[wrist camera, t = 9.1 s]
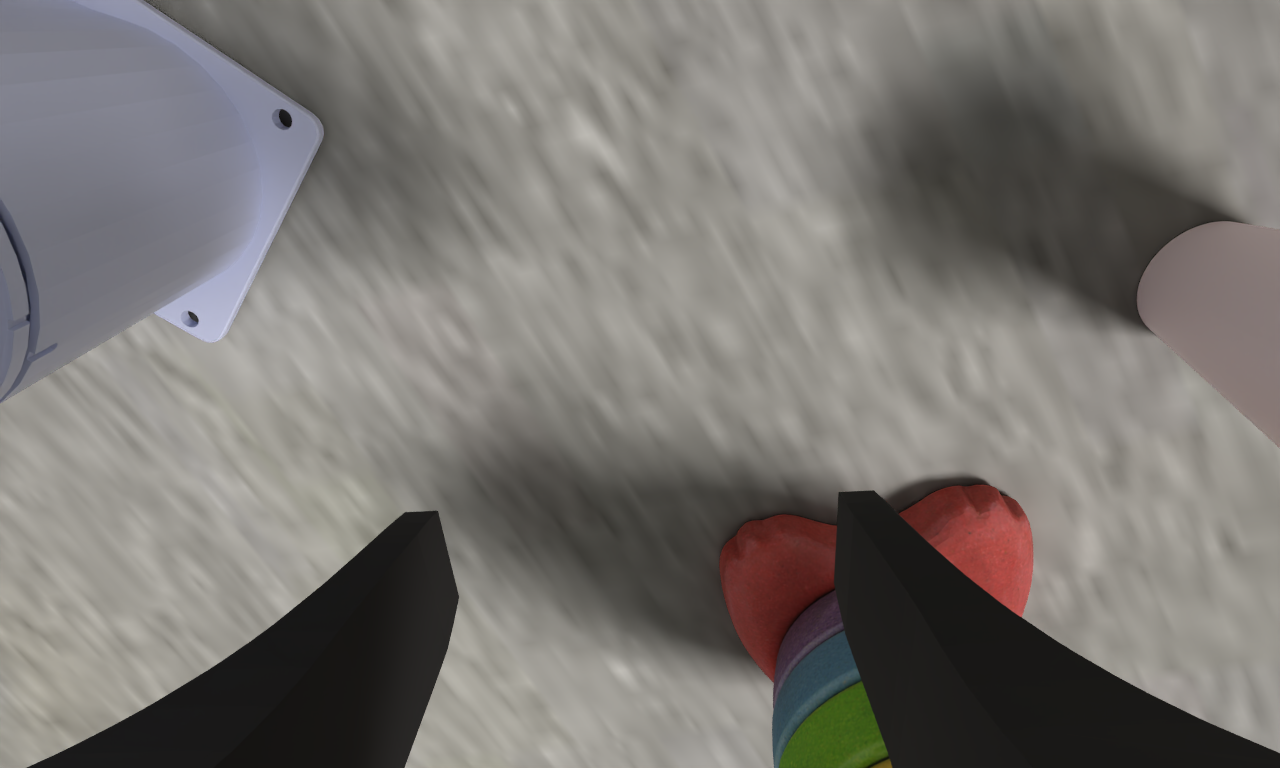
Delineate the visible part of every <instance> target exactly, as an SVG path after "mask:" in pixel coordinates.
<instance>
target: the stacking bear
mask: <svg viewBox="0 0 1280 768" xmlns="http://www.w3.org/2000/svg"><path fill="white" fill-rule="evenodd" d="M899 515H900V516H901V517H902V518H903V519H904V520H905V521H906V522H907V523H908V524H909V525H911V526H912V527H913V528H914V529H915V530H916V531H917V532H918V533H919V534H920V535H921V536H922V537H923V538H924V539H925V540H926V541H928V542H929V543H930V544H931V545H932V546H933V547H934V548H935V549H936V550H937V551H939V552H940V553H941V554H942V555H943V556H944V557H945V558H946V559H948V560H949V561H950V562H951V563H952V564H953V565H954V566H956V567H957V568H958V569H959V570H960V571H961V572H963V573H964V574H965V575H966V576H967V577H969V578H970V579H971V580H972V581H974V582H975V583H976V584H977V585H979V586H980V587H981V588H983V589H984V590H985V591H986V592H988V593H989V594H990V595H991V596H993V597H994V598H995V599H997V600H998V601H999V602H1000V603H1002V604H1003V605H1005V606H1006V607H1007V608H1009V609H1010V610H1011V611H1013V612H1014V613H1016V614H1017V615H1018V616H1020V617H1022V615H1023V612H1024V608H1025V605H1026V602H1027V599H1028V595H1029V591H1030V587H1031V581H1032V571H1033V541H1032V533H1031V528H1030V524H1029V521H1028V518H1027V516H1026V514H1025V513H1024V511H1023V509H1022V508H1021V506H1020V505H1019V503H1018V502H1017V501H1016V500H1014V499H1012V498H1011V497H1008V496H1003V495H1001V494H1000V492H999V491H998V490H997V489H996V488H994V487H992V486H989V485H973V486H968V487H966V486H951V487H946V488H943V489H940V490H938V491H936V492H934V493H932V494H930V495H928V496H927V497H925V498H924V499H922V500H921V501H919V502H918V503H916V504H915V505H913V506H911V507H910V508H908V509H907V510H905V511H903V512H901V513H899ZM836 533H837V525H829V524H825V523H821V522H817V521H813V520H810V519H806V518H803V517H800V516H795V515H786V514H783V515H776V516H773V517H770V518H767V519H765V520H754V521H749V522H747V523H745V524H744V525H743V526H742V527H741V528H740V529H739V531H738V532H737V534H736V536H735V537H733V538H732V539H730V540H729V541H728V542H727V543H726V544H725V546H724V547H723V549H722V552H721V555H720V561H719V568H720V576H721V584H722V589H723V593H724V598H725V601H726V605H727V609H728V611H729V614H730V617H731V620H732V622H733V625H734V627H735V630H736V632H737V634H738V636H739V638H740V640H741V641H742V643H743V645H744V647H745V648H746V650H747V651H748V653H749V654H750V655H751V657H752V658H753V660H754V661H755V662H756V664H757V665H758V666H759V667H760V668H761V670H762V671H763V672H764V673H765V674H766V675H767V676H768V677H769V678H770V680H771V681H772V682H773V683H774V688H773V708H774V712H773V722H772V736H773V759H774V768H892V765H891V762H890V758H889V755H888V752H887V749H886V747H885V744H884V741H883V738H882V735H881V733H880V730H879V727H878V724H877V722H876V719H875V716H874V713H873V711H872V708H871V705H870V702H869V700H868V697H867V694H866V691H865V688H864V686H863V683H862V680H861V677H860V675H859V672H858V669H857V666H856V663H855V660H854V658H853V655H852V652H851V649H850V646H849V643H848V641H847V638H846V635H845V631H844V626H843V622H842V618H841V613H840V609H839V604H838V600H837V595H836V590H835V586H834V569H835V551H836Z"/></svg>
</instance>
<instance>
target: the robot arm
mask: <svg viewBox="0 0 1280 768" xmlns="http://www.w3.org/2000/svg"><path fill="white" fill-rule="evenodd" d="M281 109H283V110H286V111H287V112H288V113H289V114H290V115H291V118H292V126H291V127H290V128H289V127H286V126H284V125H283V124H282V123H281V121H280V119H279V111H280V110H281ZM323 136H324V130H323V125H322V124H321V122H320V120H319V118H317V117H316V116H315V115H314V114H313V113H312V112H310V111H309V110H307V109H306V108H304V107H303V106H301V105H300V104H298V103H297V102H295V101H294V100H292V99H291V98H289V97H288V96H286V95H285V94H283V93H282V92H280V91H279V90H277V89H276V88H274V87H273V86H271V85H270V84H268V83H267V82H265V81H264V80H262V79H261V78H259V77H258V76H256V75H255V74H253V73H252V72H250V71H249V70H247V69H246V68H244V67H243V66H241V65H240V64H238V63H237V62H235V61H234V60H232V59H231V58H229V57H228V56H226V55H225V54H223V53H222V52H220V51H219V50H217V49H216V48H214V47H213V46H211V45H210V44H208V43H207V42H205V41H204V40H202V39H201V38H199V37H198V36H196V35H195V34H193V33H192V32H190V31H189V30H187V29H186V28H185V27H183V26H182V25H180V24H179V23H177V22H176V21H174V20H173V19H171V18H170V17H168V16H167V15H165V14H164V13H162V12H161V11H159V10H158V9H156V8H155V7H153V6H152V5H150V4H149V3H147V2H146V1H144V0H0V403H2V402H4V401H5V400H7V399H9V398H10V397H12V396H14V395H15V394H17V393H19V392H20V391H22V390H24V389H26V388H27V387H29V386H31V385H32V384H34V383H36V382H37V381H39V380H41V379H42V378H44V377H46V376H48V375H49V374H51V373H53V372H54V371H56V370H58V369H59V368H61V367H63V366H65V365H66V364H68V363H70V362H71V361H73V360H75V359H76V358H78V357H80V356H81V355H83V354H85V353H87V352H88V351H90V350H92V349H93V348H95V347H97V346H98V345H100V344H102V343H103V342H105V341H107V340H109V339H110V338H112V337H114V336H115V335H117V334H119V333H120V332H122V331H124V330H125V329H127V328H129V327H131V326H132V325H134V324H136V323H137V322H139V321H141V320H142V319H144V318H146V317H148V316H149V315H151V314H155V315H157V316H159V317H161V318H162V319H164V320H166V321H168V322H170V323H171V324H173V325H175V326H177V327H179V328H180V329H182V330H184V331H186V332H188V333H189V334H191V335H193V336H195V337H196V338H198V339H200V340H202V341H205V342H212V343H214V342H216V341H219V340H220V339H222V338H223V337H224V336H225V335H226V334H227V333H228V331H229V329H230V327H231V325H232V323H233V321H234V319H235V317H236V315H237V313H238V311H239V309H240V306H241V304H242V302H243V300H244V298H245V296H246V294H247V292H248V290H249V288H250V286H251V284H252V282H253V280H254V278H255V276H256V274H257V272H258V270H259V268H260V266H261V264H262V262H263V260H264V258H265V256H266V254H267V252H268V250H269V248H270V246H271V244H272V242H273V240H274V238H275V236H276V233H277V231H278V229H279V227H280V225H281V223H282V221H283V219H284V217H285V215H286V213H287V211H288V209H289V207H290V205H291V203H292V201H293V199H294V197H295V195H296V193H297V191H298V189H299V187H300V185H301V183H302V181H303V179H304V177H305V175H306V173H307V171H308V169H309V167H310V165H311V163H312V160H313V158H314V156H315V154H316V152H317V150H318V148H319V146H320V144H321V142H322V140H323ZM188 311H190V312H193V313H194V314H195V315H196V316H197V317H198V319H199V322H196V321H193V320H192V319H191V318H190V316H189V314H188ZM834 586H835V590H836V595H837V600H838V604H839V609H840V613H841V618H842V622H843V626H844V631H845V635H846V638H847V641H848V643H849V646H850V649H851V652H852V655H853V658H854V660H855V663H856V666H857V669H858V672H859V675H860V677H861V680H862V683H863V686H864V688H865V691H866V694H867V697H868V700H869V702H870V705H871V708H872V711H873V713H874V716H875V719H876V722H877V724H878V727H879V730H880V733H881V735H882V738H883V741H884V744H885V747H886V749H887V752H888V755H889V758H890V762H891V765H892V768H1280V753H1278V752H1276V751H1273V750H1271V749H1269V748H1266V747H1264V746H1262V745H1259V744H1257V743H1255V742H1252V741H1250V740H1247V739H1245V738H1243V737H1240V736H1238V735H1236V734H1233V733H1231V732H1229V731H1226V730H1224V729H1222V728H1219V727H1217V726H1215V725H1212V724H1210V723H1208V722H1206V721H1204V720H1201V719H1199V718H1197V717H1195V716H1193V715H1191V714H1189V713H1187V712H1185V711H1183V710H1181V709H1179V708H1177V707H1175V706H1173V705H1171V704H1169V703H1167V702H1165V701H1162V700H1160V699H1158V698H1156V697H1154V696H1152V695H1150V694H1148V693H1146V692H1145V691H1143V690H1141V689H1139V688H1137V687H1135V686H1133V685H1131V684H1130V683H1128V682H1126V681H1124V680H1122V679H1120V678H1118V677H1116V676H1115V675H1113V674H1111V673H1110V672H1108V671H1106V670H1104V669H1103V668H1101V667H1099V666H1097V665H1096V664H1094V663H1092V662H1091V661H1089V660H1087V659H1085V658H1084V657H1082V656H1080V655H1078V654H1077V653H1075V652H1073V651H1072V650H1070V649H1069V648H1067V647H1065V646H1064V645H1062V644H1060V643H1059V642H1057V641H1056V640H1054V639H1053V638H1051V637H1050V636H1048V635H1047V634H1045V633H1044V632H1042V631H1041V630H1039V629H1038V628H1036V627H1035V626H1033V625H1032V624H1030V623H1029V622H1027V621H1026V620H1024V619H1023V618H1021V617H1020V616H1018V615H1017V614H1016V613H1014V612H1013V611H1011V610H1010V609H1009V608H1007V607H1006V606H1005V605H1003V604H1002V603H1000V602H999V601H998V600H997V599H995V598H994V597H993V596H991V595H990V594H989V593H988V592H986V591H985V590H984V589H983V588H981V587H980V586H979V585H977V584H976V583H975V582H974V581H972V580H971V579H970V578H969V577H967V576H966V575H965V574H964V573H963V572H961V571H960V570H959V569H958V568H957V567H956V566H954V565H953V564H952V563H951V562H950V561H949V560H948V559H946V558H945V557H944V556H943V555H942V554H941V553H940V552H939V551H937V550H936V549H935V548H934V547H933V546H932V545H931V544H930V543H929V542H928V541H926V540H925V539H924V538H923V537H922V536H921V535H920V534H919V533H918V532H917V531H916V530H915V529H914V528H913V527H912V526H911V525H909V524H908V523H907V522H906V521H905V520H904V519H903V518H902V517H901V516H900V515H899V514H898V513H897V512H896V511H895V510H894V509H893V508H892V507H891V506H890V505H889V504H888V503H887V502H886V501H885V500H884V499H883V498H881V497H880V496H879V495H878V494H877V493H876V492H875V491H853V492H839V497H838V515H837V533H836V551H835V569H834ZM458 599H459V595H458V591H457V587H456V583H455V579H454V575H453V571H452V567H451V563H450V559H449V555H448V551H447V546H446V542H445V538H444V534H443V530H442V526H441V522H440V518H439V514H438V511H424V512H405V513H404V514H403V515H401V516H400V517H399V518H398V519H396V520H395V521H394V522H393V523H392V524H391V525H389V526H388V527H387V528H386V529H385V530H384V531H383V532H382V533H380V534H379V535H378V536H377V537H376V538H375V539H374V540H373V541H372V542H370V543H369V544H368V545H367V546H366V547H365V548H364V549H363V550H362V551H360V552H359V553H358V554H357V555H356V556H355V557H354V558H353V559H351V560H350V561H349V562H348V563H347V564H346V565H345V566H344V567H342V568H341V569H340V570H339V571H338V572H337V573H336V574H334V575H333V576H332V577H331V578H330V579H329V580H328V581H327V582H325V583H324V584H323V585H322V586H321V587H319V588H318V589H317V590H316V591H314V592H313V593H312V594H311V595H310V596H308V597H307V598H306V599H305V600H303V601H302V602H301V603H300V604H298V605H297V606H296V607H295V608H293V609H292V610H291V611H290V612H289V613H287V614H286V615H285V616H284V617H282V618H281V619H280V620H279V621H277V622H276V623H275V624H274V625H272V626H271V627H270V628H268V629H267V630H266V631H264V632H263V633H261V634H260V635H259V636H257V637H256V638H255V639H253V640H252V641H251V642H249V643H248V644H246V645H245V646H243V647H242V648H240V649H239V650H237V651H236V652H235V653H233V654H232V655H230V656H229V657H227V658H226V659H224V660H223V661H222V662H220V663H218V664H217V665H215V666H214V667H212V668H211V669H209V670H208V671H206V672H204V673H203V674H201V675H199V676H198V677H196V678H195V679H193V680H191V681H190V682H188V683H186V684H185V685H183V686H181V687H180V688H178V689H176V690H175V691H173V692H171V693H170V694H168V695H167V696H165V697H163V698H162V699H160V700H158V701H157V702H155V703H153V704H152V705H150V706H148V707H146V708H145V709H143V710H141V711H139V712H137V713H135V714H134V715H132V716H130V717H128V718H126V719H124V720H123V721H121V722H119V723H117V724H115V725H113V726H111V727H110V728H108V729H106V730H104V731H102V732H100V733H98V734H96V735H94V736H92V737H90V738H88V739H86V740H84V741H82V742H80V743H78V744H76V745H74V746H72V747H70V748H68V749H66V750H64V751H62V752H60V753H58V754H56V755H54V756H51V757H49V758H47V759H45V760H43V761H40V762H38V763H36V764H34V765H32V766H29V767H27V768H404V767H405V764H406V762H407V759H408V756H409V754H410V751H411V748H412V745H413V743H414V740H415V737H416V735H417V732H418V729H419V726H420V724H421V721H422V718H423V716H424V713H425V710H426V707H427V705H428V702H429V699H430V697H431V694H432V691H433V688H434V686H435V683H436V680H437V677H438V675H439V672H440V669H441V666H442V663H443V661H444V658H445V655H446V652H447V649H448V645H449V641H450V636H451V632H452V628H453V623H454V619H455V614H456V609H457V604H458Z"/></svg>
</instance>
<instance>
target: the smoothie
mask: <svg viewBox="0 0 1280 768" xmlns="http://www.w3.org/2000/svg"><path fill="white" fill-rule="evenodd" d="M1137 308H1138V312H1139V315H1140V317H1141V319H1142V321H1143V322H1144V324H1145V325H1146V326H1147V327H1148V328H1149V329H1150V330H1151V331H1152V332H1153V333H1154V334H1155V335H1157V336H1158V337H1159V338H1160V339H1161V340H1162V341H1163V342H1164V343H1165V344H1166V345H1167V346H1169V347H1170V348H1171V349H1172V350H1173V351H1174V352H1175V353H1176V354H1177V355H1178V356H1180V357H1181V358H1182V359H1183V360H1184V361H1185V362H1186V363H1187V364H1188V365H1189V366H1190V367H1192V368H1193V369H1194V370H1195V371H1196V372H1197V373H1198V374H1199V375H1200V376H1201V377H1203V378H1204V379H1205V380H1206V381H1207V382H1208V383H1209V384H1210V385H1211V386H1212V387H1213V388H1215V389H1216V390H1217V391H1218V392H1219V393H1220V394H1221V395H1222V396H1223V397H1224V398H1226V399H1227V400H1228V401H1229V402H1230V403H1231V404H1232V405H1233V406H1234V407H1235V408H1236V409H1238V410H1239V411H1240V412H1241V413H1242V414H1243V415H1244V416H1245V417H1246V418H1247V419H1249V420H1250V421H1251V422H1252V423H1253V424H1254V425H1255V426H1256V427H1257V428H1258V429H1259V430H1261V431H1262V432H1263V433H1264V434H1265V435H1266V436H1267V437H1268V438H1269V439H1270V440H1272V441H1273V442H1274V443H1275V444H1276V445H1277V446H1278V447H1279V448H1280V230H1279V229H1273V228H1267V227H1261V226H1255V225H1249V224H1244V223H1238V222H1230V221H1219V222H1211V223H1207V224H1203V225H1200V226H1197V227H1194V228H1192V229H1190V230H1188V231H1186V232H1184V233H1182V234H1180V235H1179V236H1177V237H1175V238H1174V239H1173V240H1171V241H1170V242H1169V243H1168V244H1166V245H1165V246H1164V247H1163V248H1162V249H1161V250H1160V251H1159V252H1158V253H1157V254H1156V255H1155V256H1154V258H1153V259H1152V260H1151V262H1150V263H1149V265H1148V266H1147V268H1146V270H1145V271H1144V273H1143V275H1142V278H1141V280H1140V283H1139V287H1138V292H1137Z"/></svg>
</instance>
